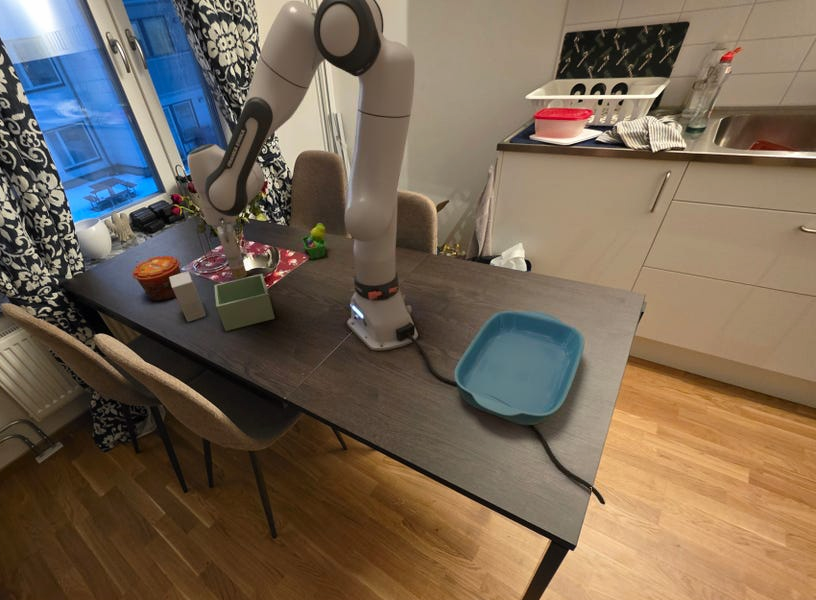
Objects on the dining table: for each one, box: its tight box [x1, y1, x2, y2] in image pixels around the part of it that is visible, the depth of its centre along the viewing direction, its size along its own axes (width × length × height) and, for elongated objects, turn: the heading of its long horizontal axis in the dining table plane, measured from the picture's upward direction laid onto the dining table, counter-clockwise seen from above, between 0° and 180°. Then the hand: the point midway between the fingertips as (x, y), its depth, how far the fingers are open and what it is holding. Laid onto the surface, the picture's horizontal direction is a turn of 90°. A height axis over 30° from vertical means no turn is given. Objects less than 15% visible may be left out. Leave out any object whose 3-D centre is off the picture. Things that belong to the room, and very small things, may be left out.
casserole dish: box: [453, 310, 585, 426], centre depth 89 cm, size 37×22×7 cm, turn 145°
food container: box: [132, 255, 182, 302], centre depth 138 cm, size 16×16×11 cm
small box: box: [169, 271, 207, 323], centre depth 124 cm, size 8×6×13 cm
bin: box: [213, 273, 276, 332], centre depth 122 cm, size 14×16×9 cm
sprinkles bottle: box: [226, 230, 248, 280], centre depth 112 cm, size 5×5×13 cm
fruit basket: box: [301, 222, 327, 260], centre depth 149 cm, size 11×9×11 cm
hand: (235, 260), depth 113 cm, fingers closed on sprinkles bottle, 4 cm apart
